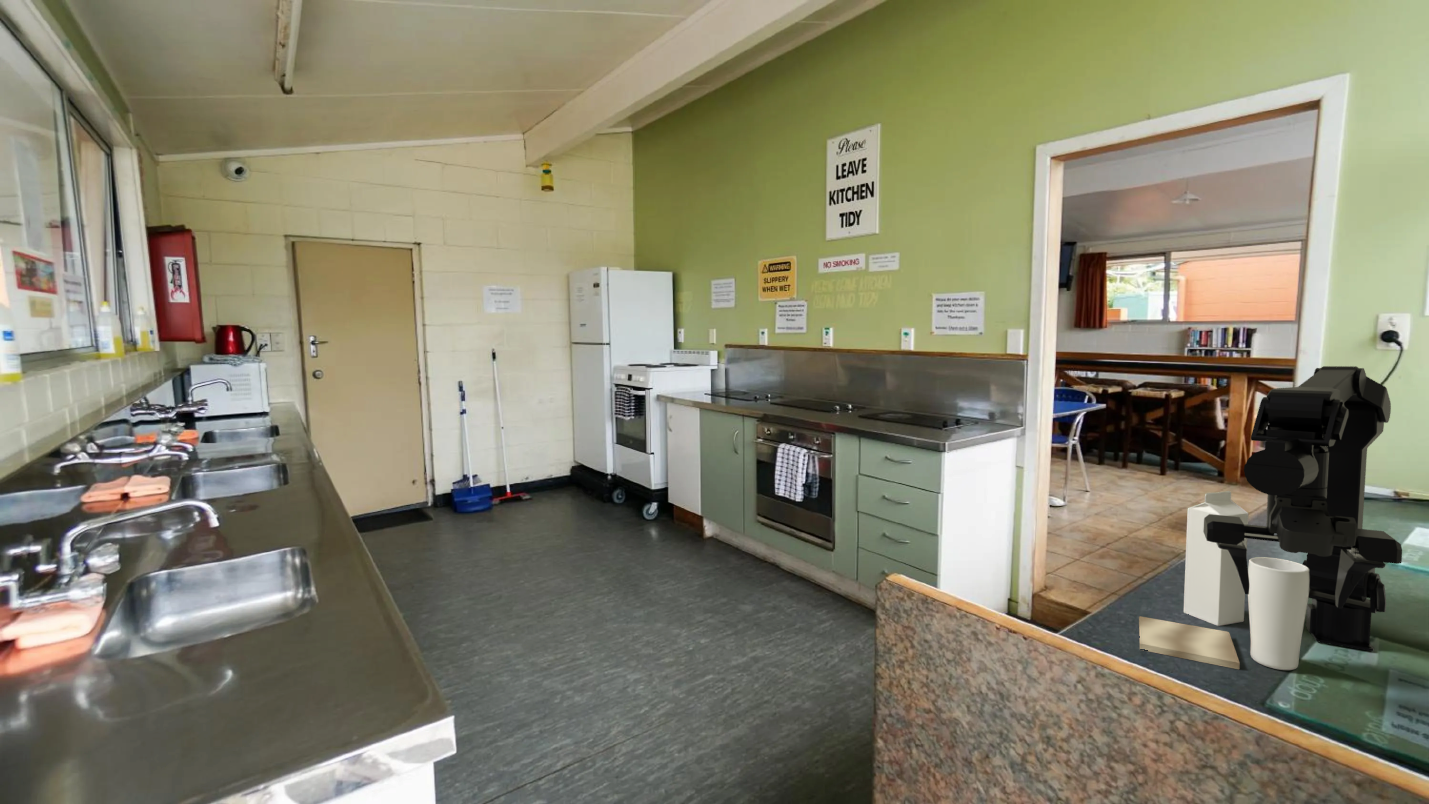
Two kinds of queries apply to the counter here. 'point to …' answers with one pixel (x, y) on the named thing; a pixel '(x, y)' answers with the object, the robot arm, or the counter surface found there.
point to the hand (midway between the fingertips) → (1291, 600)
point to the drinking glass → (1277, 610)
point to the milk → (1212, 566)
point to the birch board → (1187, 642)
